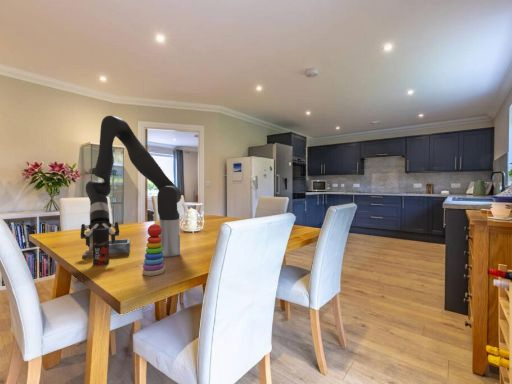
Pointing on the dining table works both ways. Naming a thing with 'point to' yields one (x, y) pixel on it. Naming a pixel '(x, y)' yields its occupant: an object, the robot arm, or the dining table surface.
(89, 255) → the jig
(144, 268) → the stacking toy
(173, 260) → the dining table surface
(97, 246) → the deodorant
